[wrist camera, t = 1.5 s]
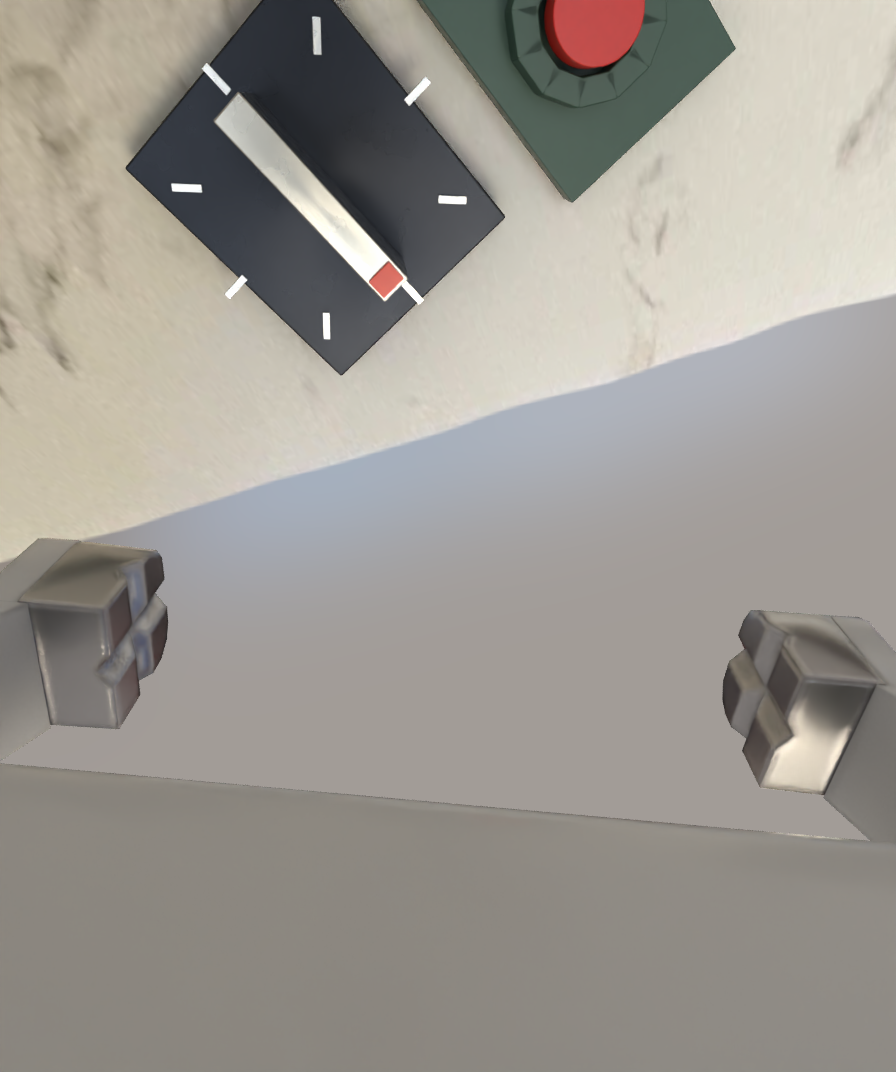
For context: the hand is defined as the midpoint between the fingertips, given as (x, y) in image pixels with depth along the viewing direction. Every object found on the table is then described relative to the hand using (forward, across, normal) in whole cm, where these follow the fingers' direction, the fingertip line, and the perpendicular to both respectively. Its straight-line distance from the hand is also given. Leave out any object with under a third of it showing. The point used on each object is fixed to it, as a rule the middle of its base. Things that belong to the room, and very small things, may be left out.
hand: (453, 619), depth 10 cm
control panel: (+33, +8, -4) cm, 34 cm away
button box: (+34, -4, -12) cm, 37 cm away
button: (+31, -4, -12) cm, 34 cm away
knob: (+31, +7, -3) cm, 32 cm away
